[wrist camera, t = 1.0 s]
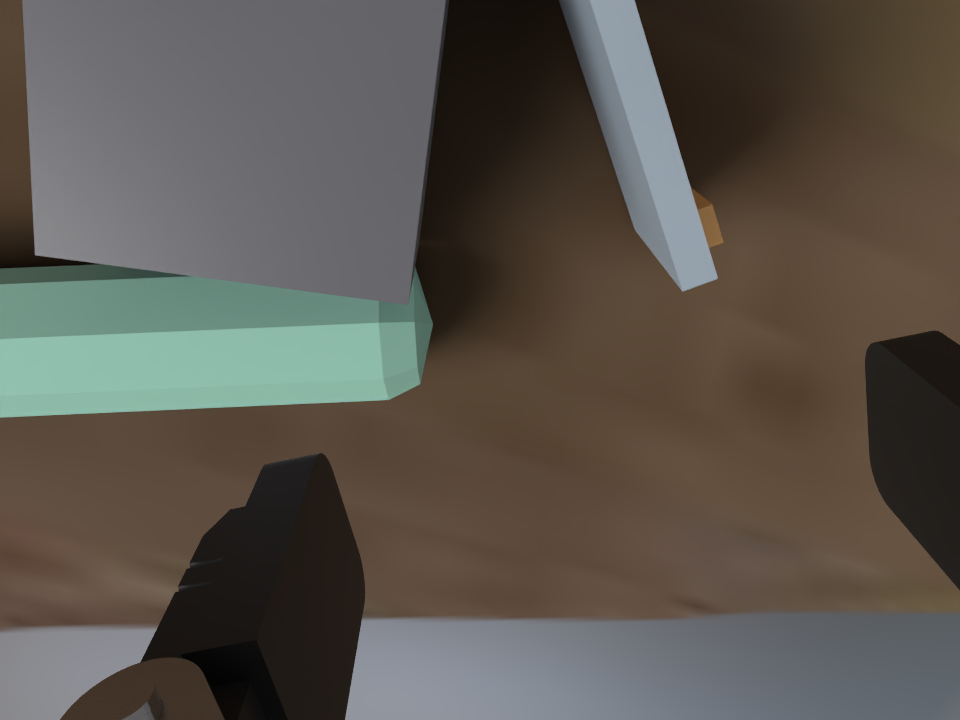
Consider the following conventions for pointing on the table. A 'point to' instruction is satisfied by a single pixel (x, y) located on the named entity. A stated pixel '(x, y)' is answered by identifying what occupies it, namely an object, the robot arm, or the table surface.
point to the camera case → (235, 137)
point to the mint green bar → (195, 343)
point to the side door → (642, 138)
